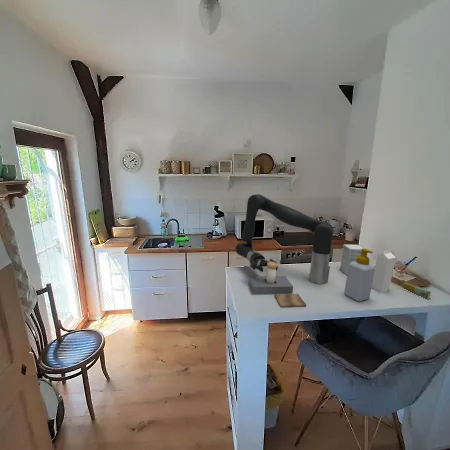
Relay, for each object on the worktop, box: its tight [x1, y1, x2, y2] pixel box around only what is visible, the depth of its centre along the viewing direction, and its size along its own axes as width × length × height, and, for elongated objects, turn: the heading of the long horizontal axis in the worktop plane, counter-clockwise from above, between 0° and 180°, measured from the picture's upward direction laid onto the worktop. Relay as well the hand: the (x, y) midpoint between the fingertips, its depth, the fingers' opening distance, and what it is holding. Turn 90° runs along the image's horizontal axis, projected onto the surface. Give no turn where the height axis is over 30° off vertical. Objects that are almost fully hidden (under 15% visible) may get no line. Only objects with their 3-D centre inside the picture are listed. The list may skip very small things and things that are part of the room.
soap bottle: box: [343, 247, 375, 302], centre depth 122 cm, size 9×9×25 cm
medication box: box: [402, 281, 432, 300], centre depth 130 cm, size 12×3×4 cm, turn 25°
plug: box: [266, 262, 278, 284], centre depth 129 cm, size 5×5×14 cm
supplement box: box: [339, 243, 363, 276], centre depth 152 cm, size 10×9×17 cm
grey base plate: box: [248, 275, 294, 295], centre depth 130 cm, size 20×12×4 cm, turn 96°
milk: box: [371, 249, 397, 293], centre depth 131 cm, size 6×6×22 cm
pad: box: [273, 293, 307, 308], centre depth 119 cm, size 12×10×1 cm
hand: (269, 269), depth 130 cm, fingers open, 8 cm apart
